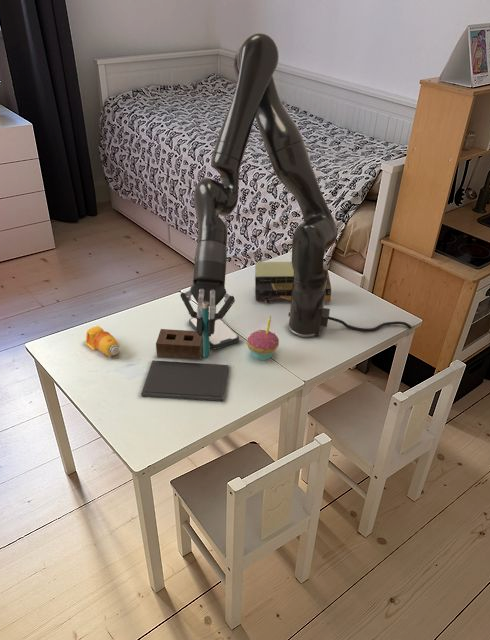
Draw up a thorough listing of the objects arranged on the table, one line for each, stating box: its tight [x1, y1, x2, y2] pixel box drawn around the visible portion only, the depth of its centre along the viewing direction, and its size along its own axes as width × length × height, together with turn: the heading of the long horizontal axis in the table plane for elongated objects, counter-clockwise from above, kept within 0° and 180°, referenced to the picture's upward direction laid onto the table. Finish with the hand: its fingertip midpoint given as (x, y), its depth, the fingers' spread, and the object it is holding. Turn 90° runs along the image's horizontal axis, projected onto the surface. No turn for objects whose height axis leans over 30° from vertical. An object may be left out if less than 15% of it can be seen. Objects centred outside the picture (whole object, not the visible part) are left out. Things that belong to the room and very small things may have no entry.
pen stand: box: [155, 328, 203, 361], centre depth 146 cm, size 12×7×4 cm, turn 87°
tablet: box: [140, 360, 229, 402], centre depth 137 cm, size 20×14×1 cm
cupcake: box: [246, 315, 280, 361], centre depth 143 cm, size 9×8×12 cm
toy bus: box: [254, 261, 332, 304], centre depth 168 cm, size 10×23×10 cm, turn 89°
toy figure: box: [85, 325, 120, 357], centre depth 145 cm, size 5×6×12 cm
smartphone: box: [188, 312, 240, 350], centre depth 154 cm, size 9×2×16 cm
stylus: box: [202, 301, 211, 359], centre depth 128 cm, size 2×2×16 cm
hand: (204, 335), depth 127 cm, fingers closed on stylus, 1 cm apart
